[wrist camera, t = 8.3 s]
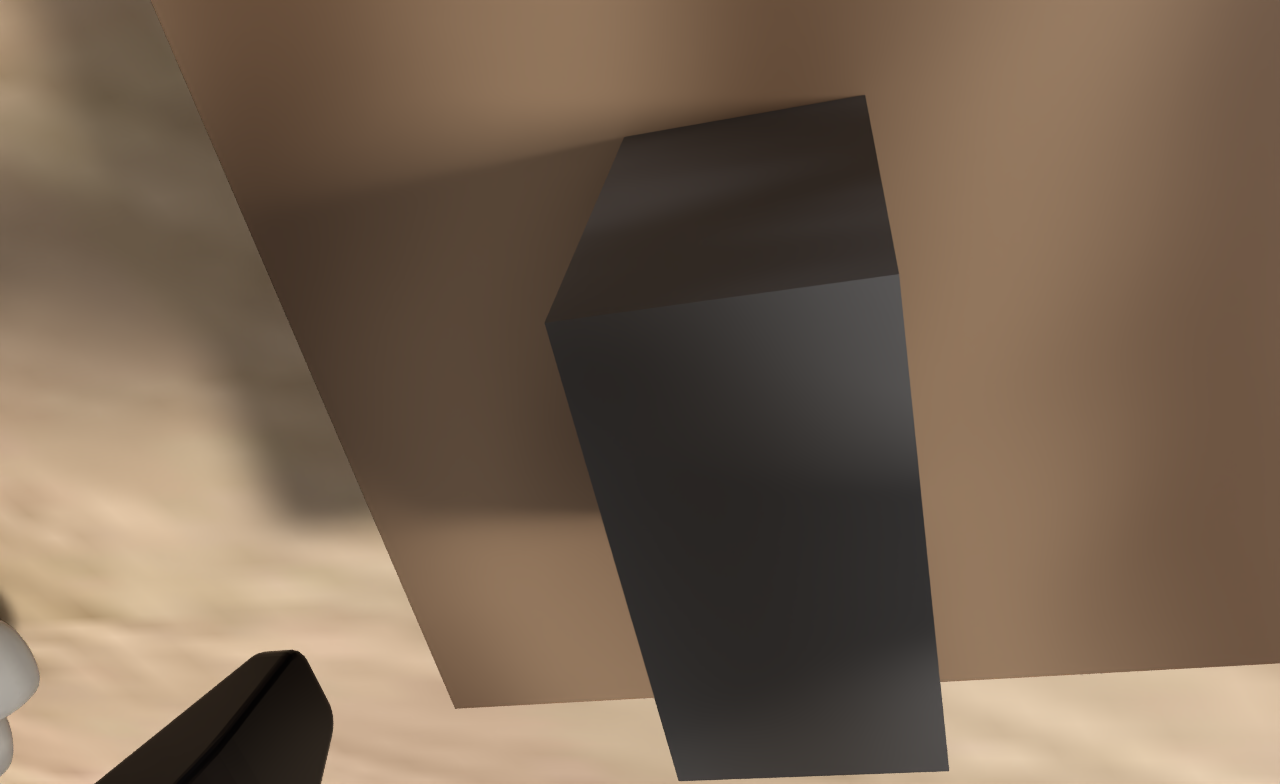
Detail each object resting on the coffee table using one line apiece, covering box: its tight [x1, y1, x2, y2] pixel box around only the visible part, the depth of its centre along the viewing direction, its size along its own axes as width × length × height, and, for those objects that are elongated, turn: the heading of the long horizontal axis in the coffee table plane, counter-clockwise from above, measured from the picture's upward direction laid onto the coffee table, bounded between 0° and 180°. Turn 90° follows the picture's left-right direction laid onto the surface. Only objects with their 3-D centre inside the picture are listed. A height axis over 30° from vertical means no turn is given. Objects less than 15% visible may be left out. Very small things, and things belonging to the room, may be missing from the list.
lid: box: [151, 0, 1280, 781], centre depth 13 cm, size 14×14×6 cm
